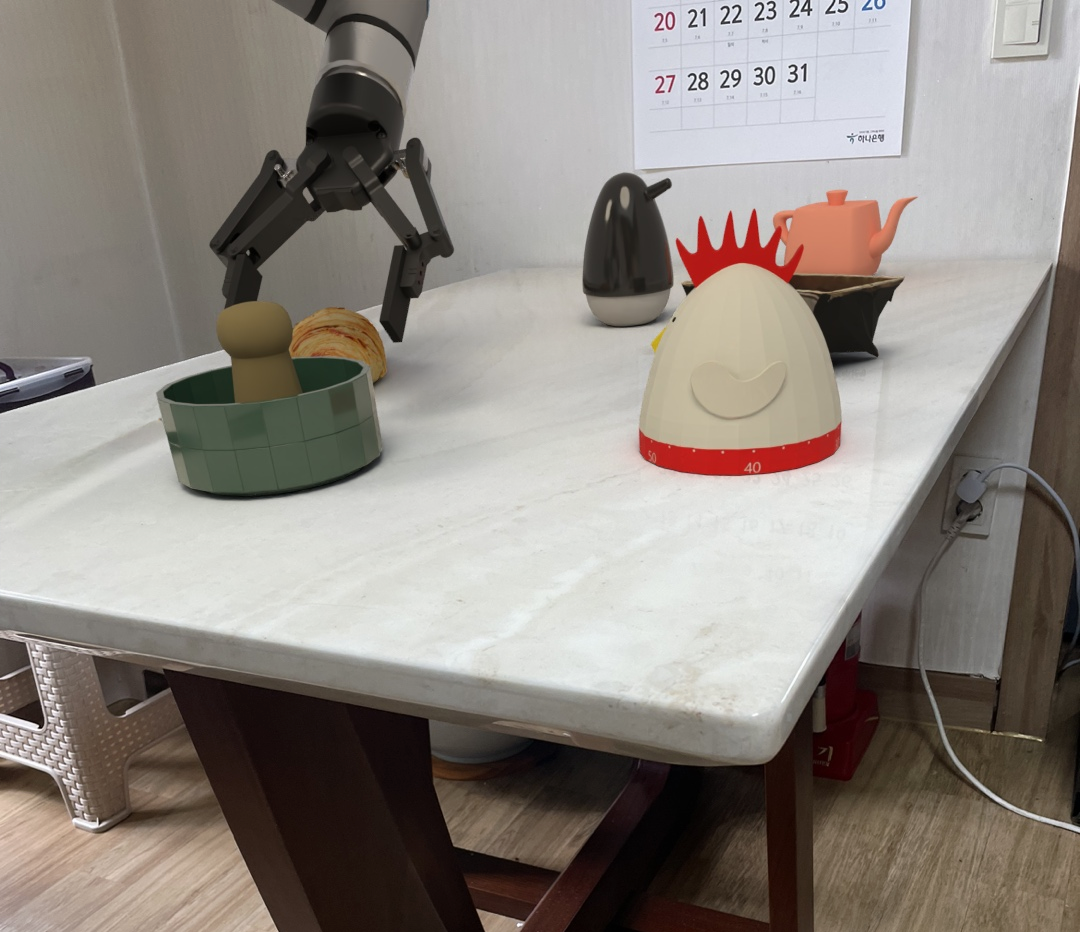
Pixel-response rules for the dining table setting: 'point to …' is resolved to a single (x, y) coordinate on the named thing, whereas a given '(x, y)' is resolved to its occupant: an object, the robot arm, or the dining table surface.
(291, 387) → the cork
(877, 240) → the teapot
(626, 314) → the pump dispenser
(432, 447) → the dining table surface
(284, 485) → the green tiled bowl
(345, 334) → the croissant
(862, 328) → the baking dish
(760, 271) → the kitchen timer
